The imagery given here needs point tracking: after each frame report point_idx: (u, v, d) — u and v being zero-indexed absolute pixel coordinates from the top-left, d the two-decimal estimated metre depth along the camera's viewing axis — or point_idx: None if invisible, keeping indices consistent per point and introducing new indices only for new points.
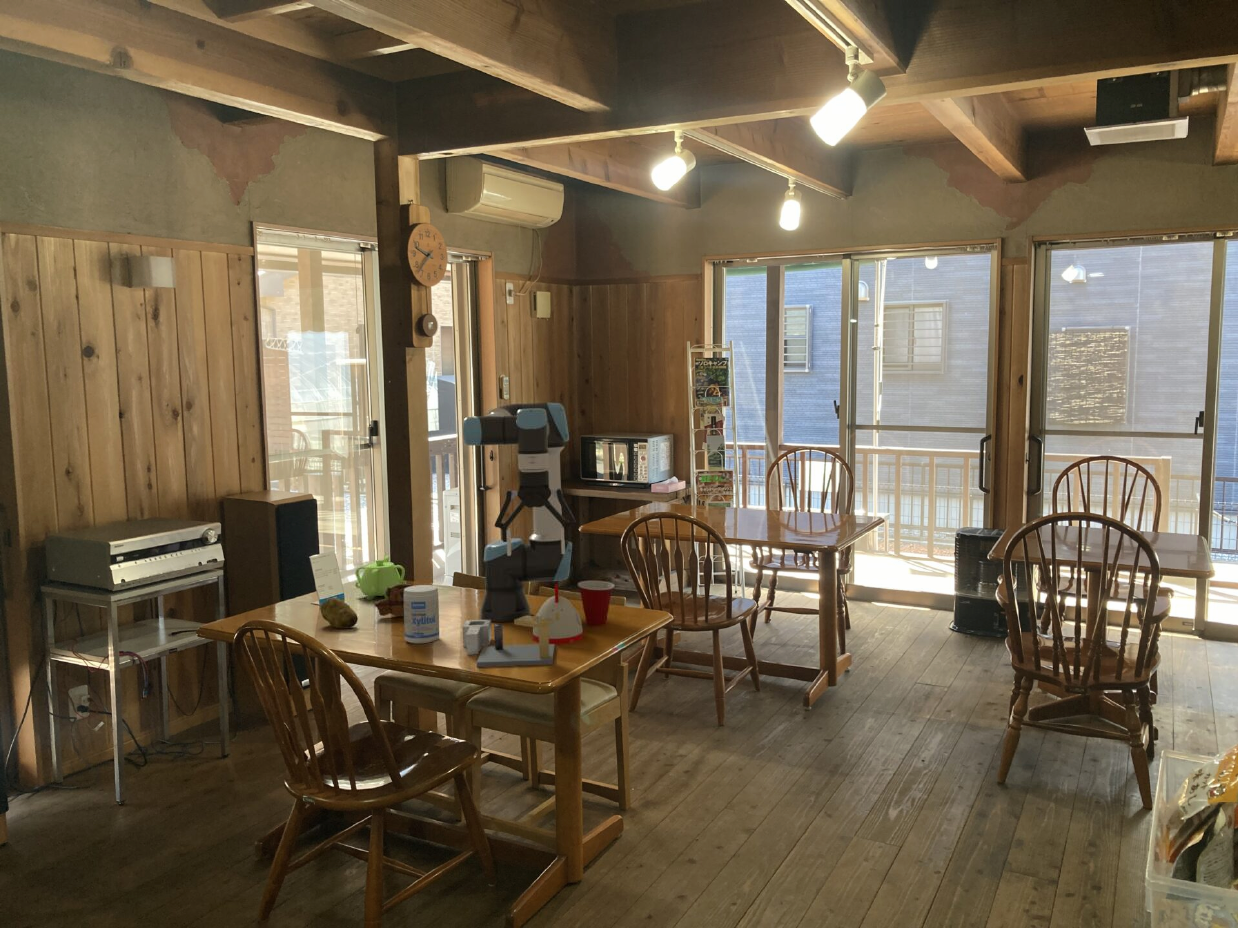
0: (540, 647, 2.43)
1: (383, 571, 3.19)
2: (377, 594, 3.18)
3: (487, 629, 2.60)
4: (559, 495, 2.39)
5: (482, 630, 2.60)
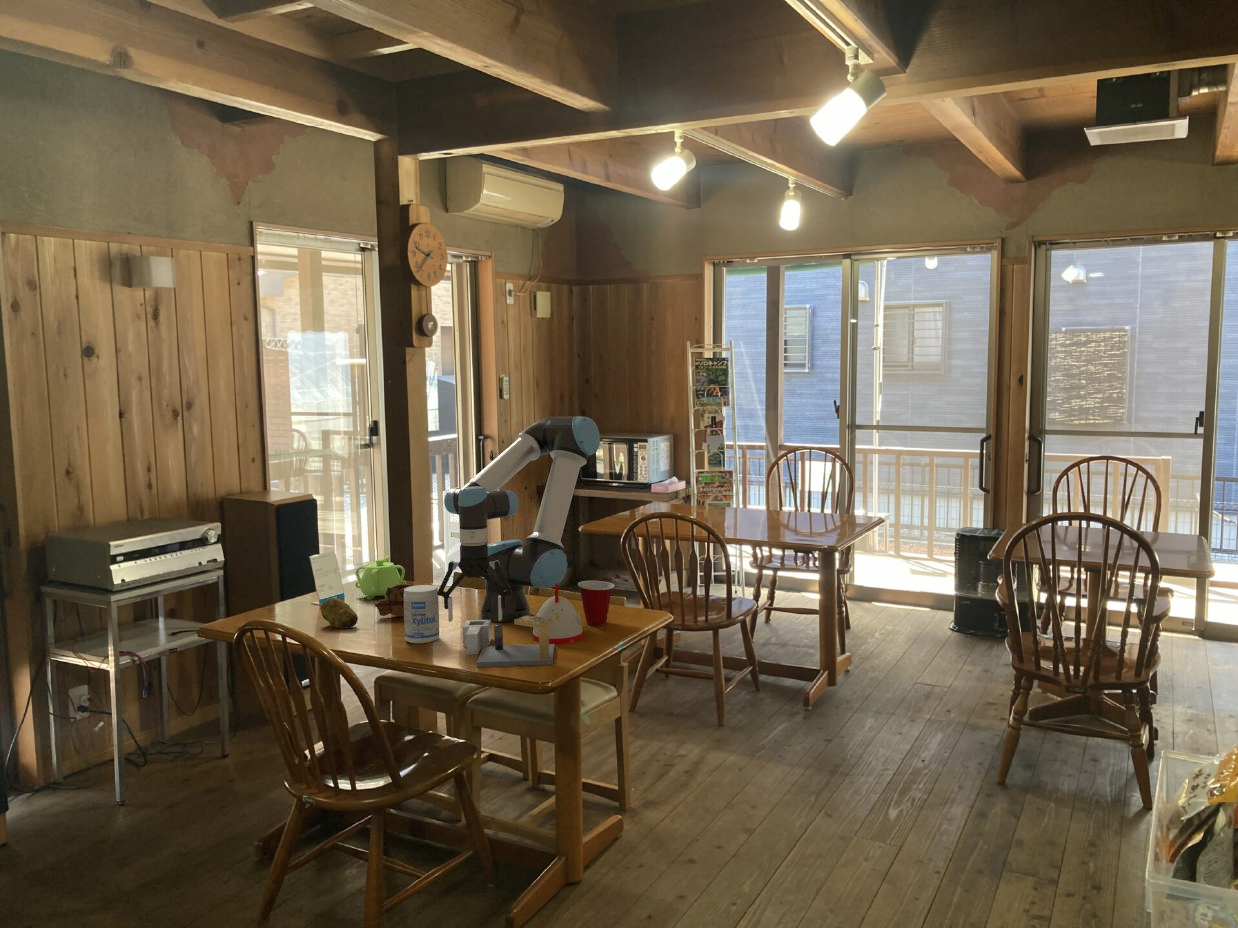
0: (540, 647, 2.43)
1: (383, 571, 3.19)
2: (377, 594, 3.18)
3: (487, 629, 2.60)
4: (497, 567, 2.61)
5: (482, 630, 2.60)
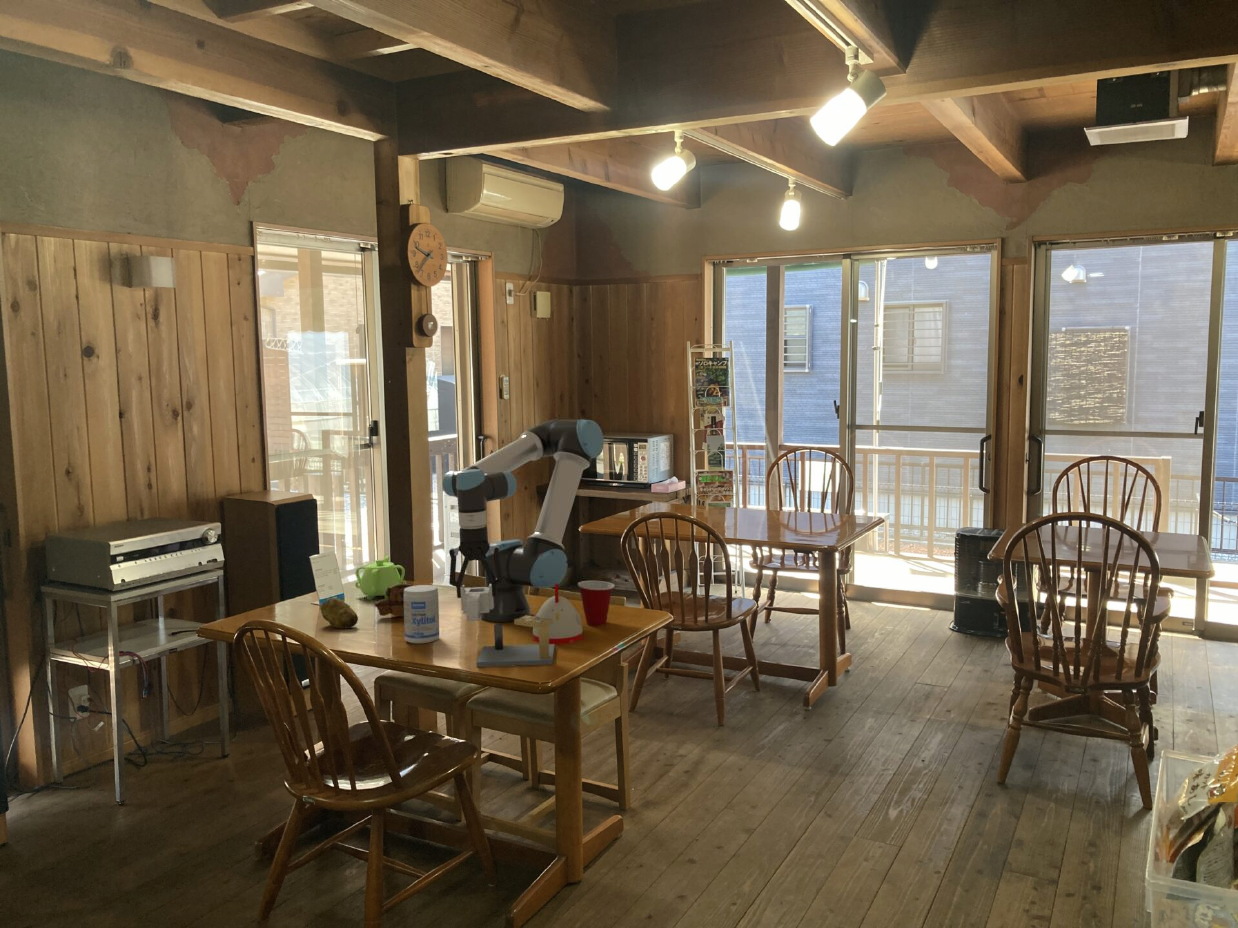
0: (540, 647, 2.43)
1: (383, 571, 3.19)
2: (377, 594, 3.18)
3: (487, 596, 2.60)
4: (495, 553, 2.61)
5: (482, 597, 2.59)
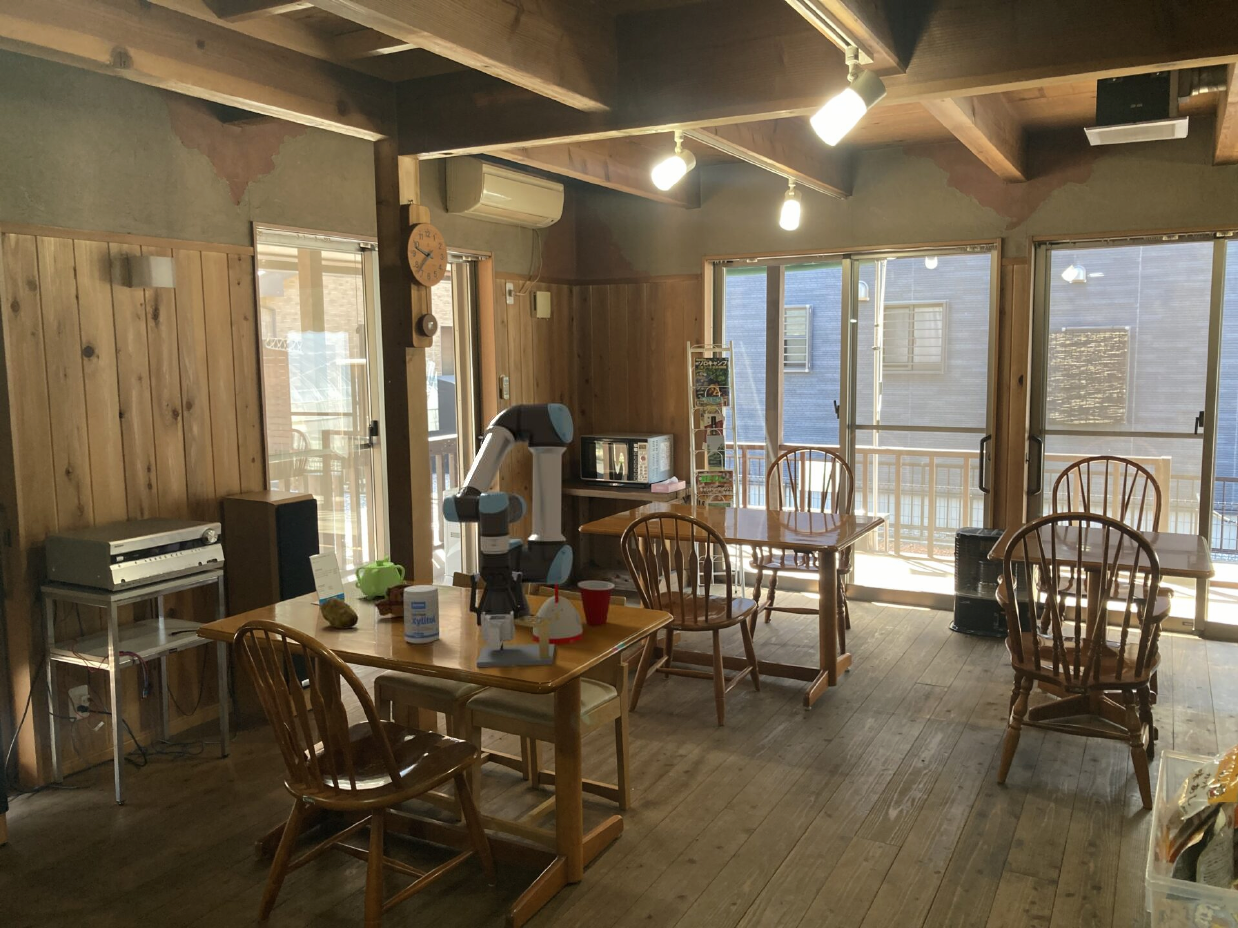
0: (540, 647, 2.43)
1: (383, 571, 3.19)
2: (377, 594, 3.18)
3: (509, 624, 2.49)
4: (518, 579, 2.50)
5: (503, 625, 2.49)
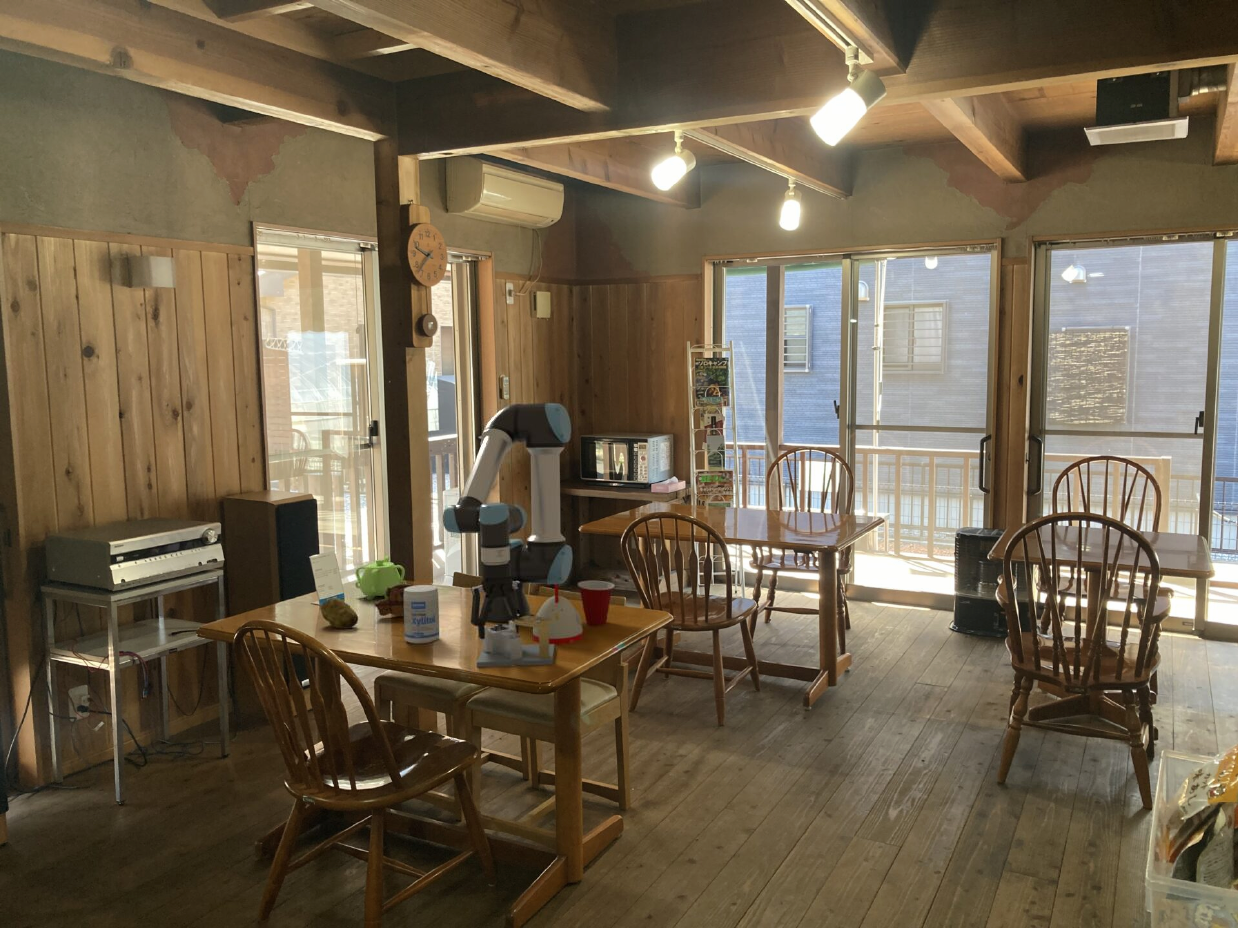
0: (540, 647, 2.43)
1: (383, 571, 3.19)
2: (377, 594, 3.18)
3: (515, 633, 2.51)
4: (519, 588, 2.53)
5: None
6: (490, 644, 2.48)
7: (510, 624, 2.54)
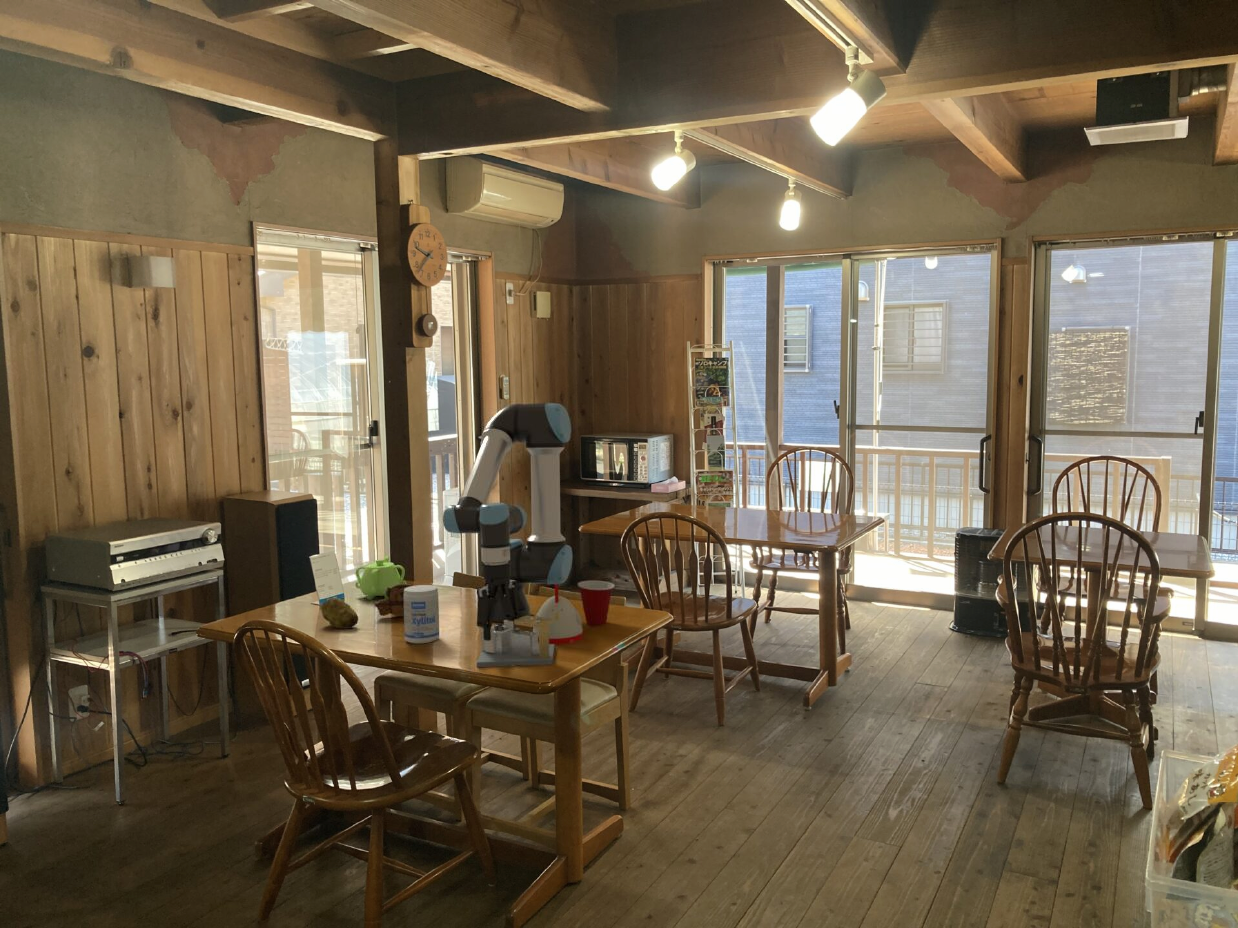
0: (540, 647, 2.43)
1: (383, 571, 3.19)
2: (377, 594, 3.18)
3: None
4: (515, 586, 2.56)
5: None
6: (498, 644, 2.48)
7: (507, 623, 2.55)
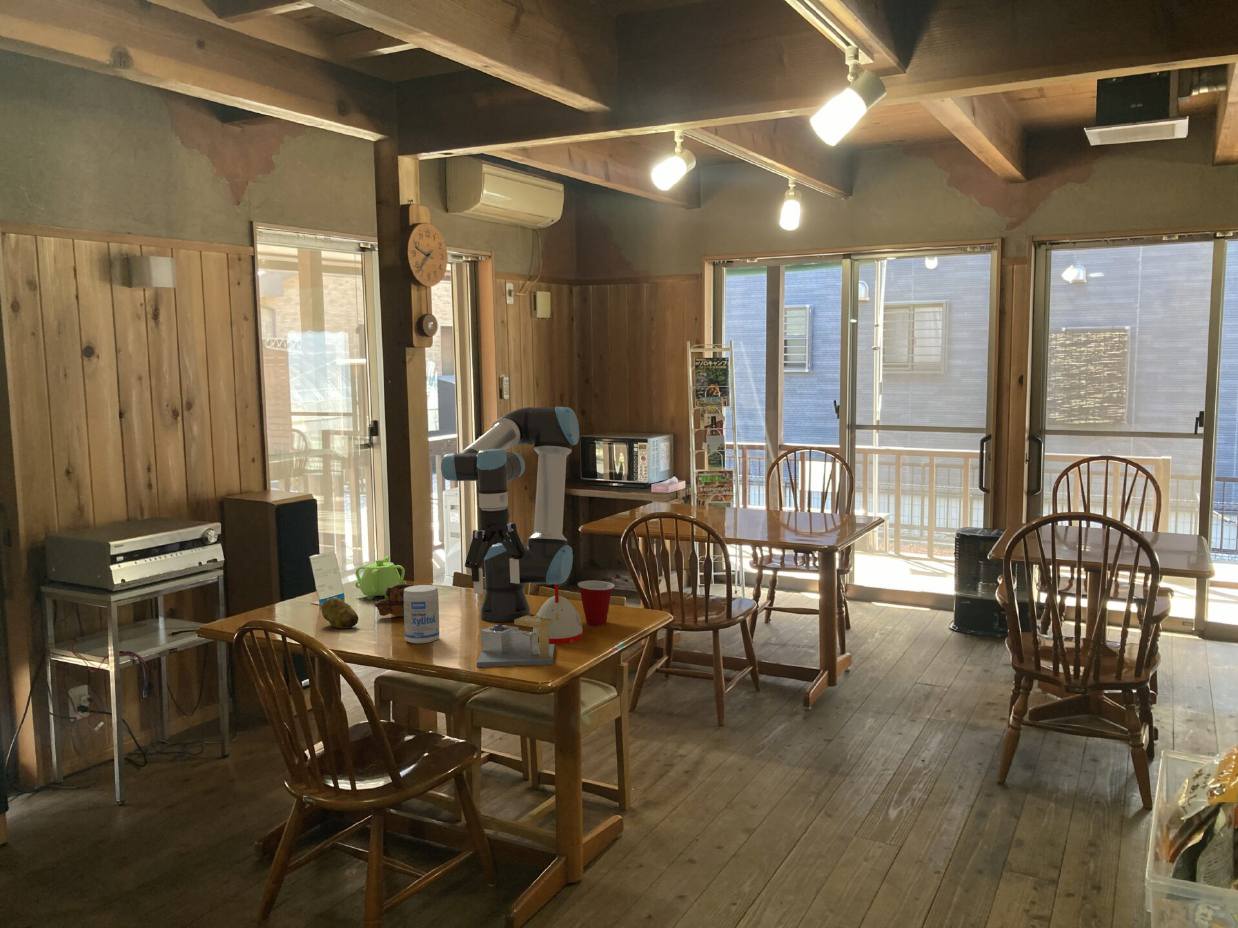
0: (540, 647, 2.43)
1: (383, 571, 3.19)
2: (377, 594, 3.18)
3: None
4: (514, 529, 2.55)
5: None
6: (498, 645, 2.48)
7: (512, 561, 2.57)
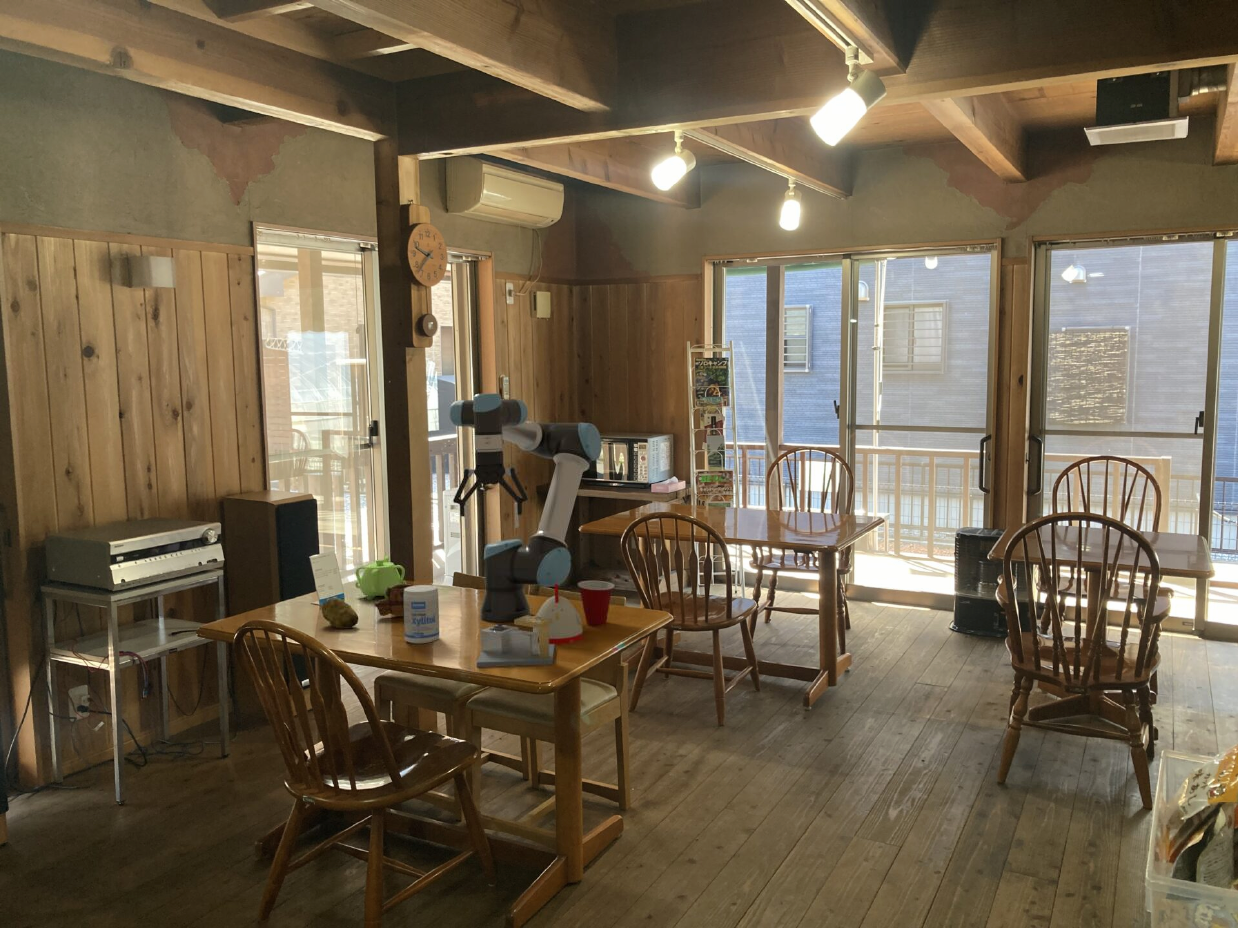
0: (540, 647, 2.43)
1: (383, 571, 3.19)
2: (377, 594, 3.18)
3: None
4: (512, 473, 2.60)
5: None
6: (498, 645, 2.48)
7: None
